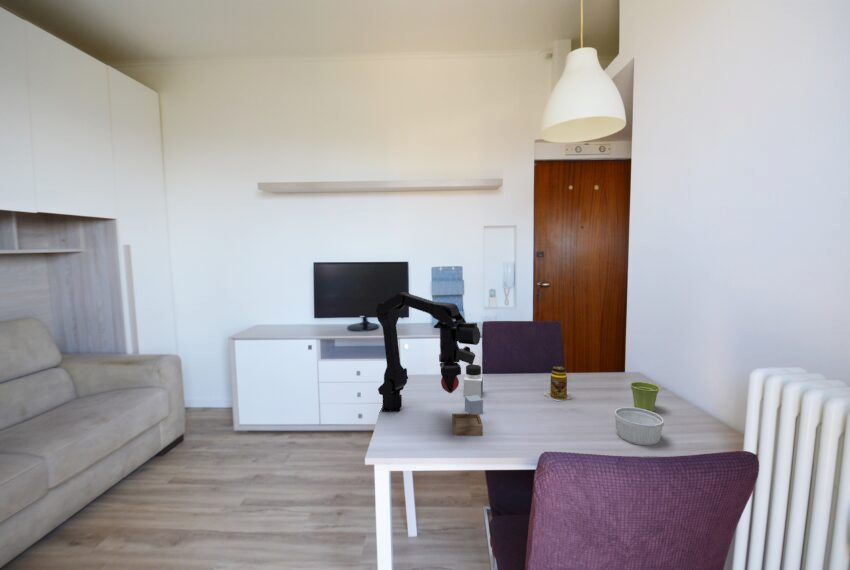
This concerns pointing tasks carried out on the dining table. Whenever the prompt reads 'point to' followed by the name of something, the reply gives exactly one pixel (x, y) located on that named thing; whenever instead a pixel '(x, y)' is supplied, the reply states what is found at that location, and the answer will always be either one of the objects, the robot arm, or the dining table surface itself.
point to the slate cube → (473, 404)
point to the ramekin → (638, 425)
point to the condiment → (558, 384)
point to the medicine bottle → (473, 381)
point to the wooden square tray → (467, 424)
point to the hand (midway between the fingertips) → (450, 388)
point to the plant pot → (644, 395)
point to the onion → (453, 386)
